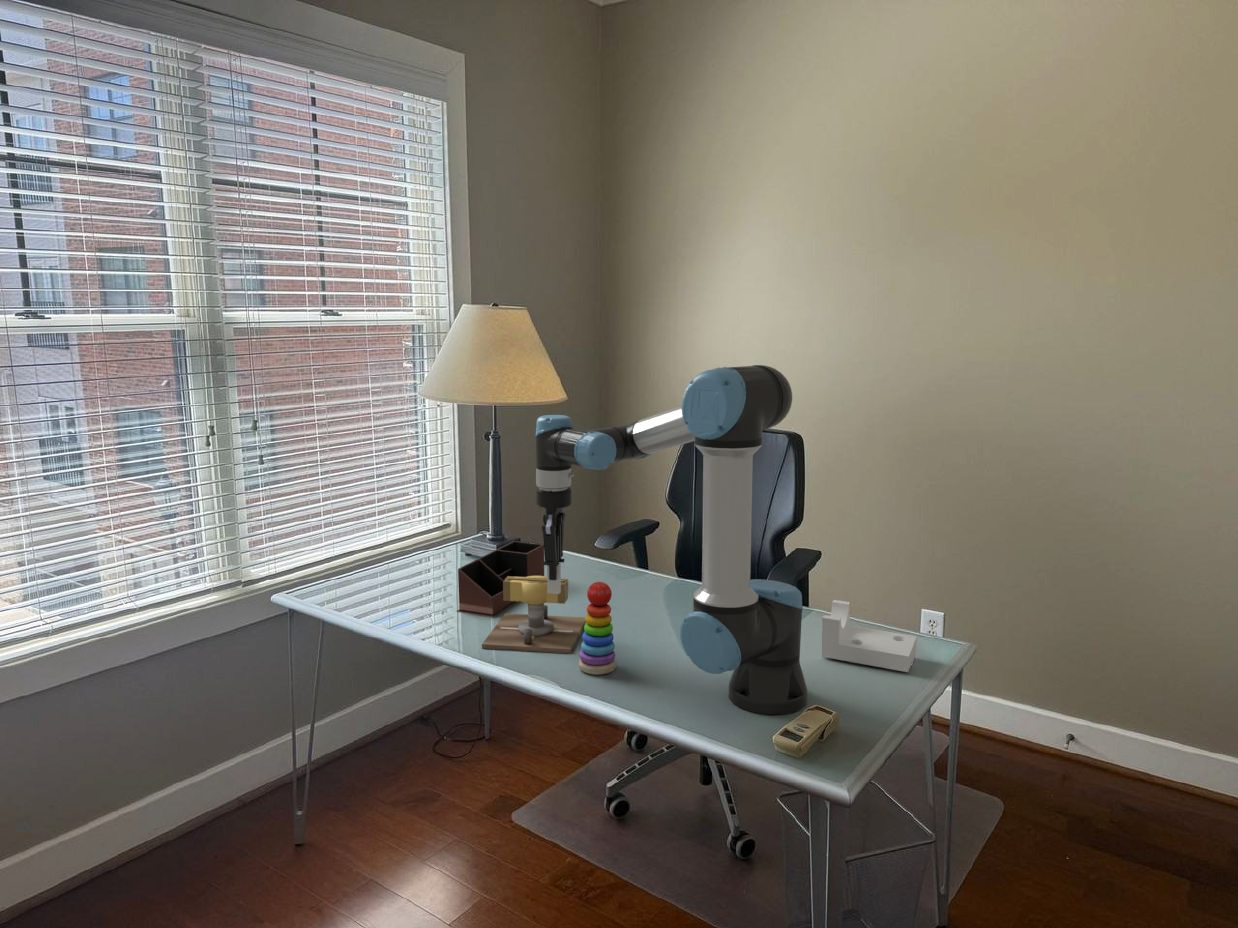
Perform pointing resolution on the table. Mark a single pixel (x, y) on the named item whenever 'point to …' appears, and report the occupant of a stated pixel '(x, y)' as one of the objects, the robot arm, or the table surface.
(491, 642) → the base
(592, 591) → the stacking toy
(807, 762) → the table surface
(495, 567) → the desk organizer
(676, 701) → the table surface
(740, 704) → the robot arm
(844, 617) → the white mounting bracket
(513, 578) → the yellow block with ball
